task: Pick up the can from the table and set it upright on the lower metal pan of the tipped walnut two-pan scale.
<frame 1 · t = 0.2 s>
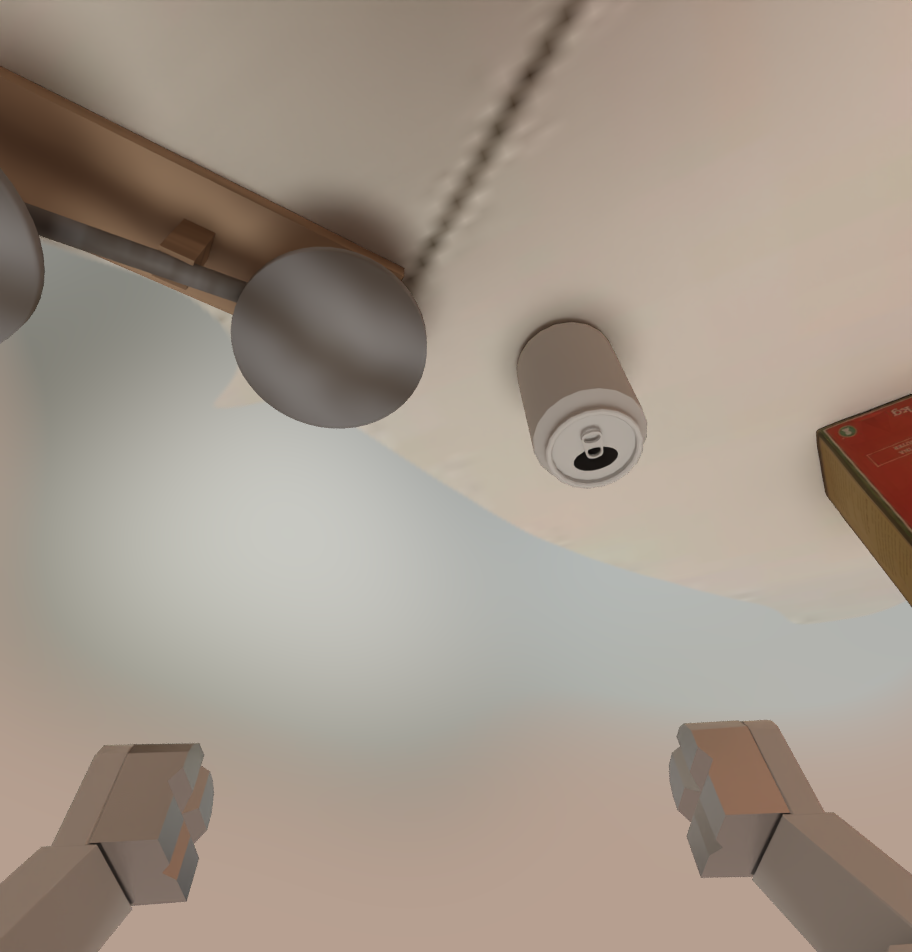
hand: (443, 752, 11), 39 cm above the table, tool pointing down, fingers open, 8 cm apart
scale: (202, 232, 43), on the table
food packaging: (897, 436, 56), on the table
can: (562, 360, 50), on the table
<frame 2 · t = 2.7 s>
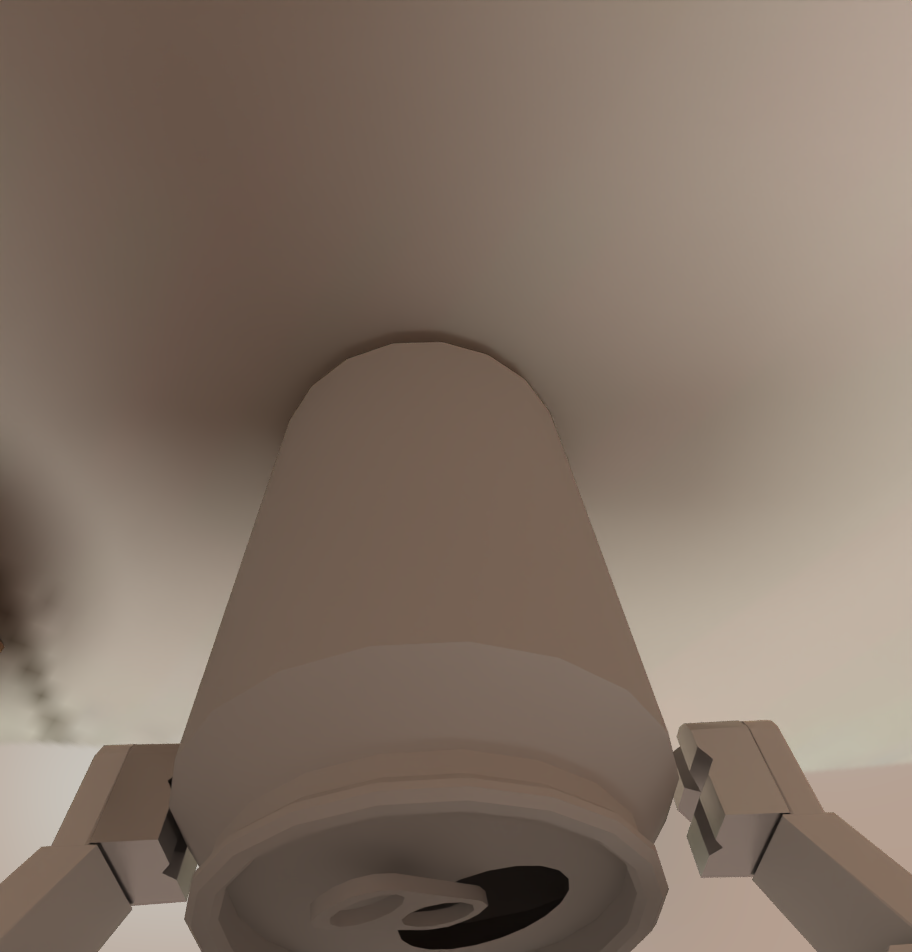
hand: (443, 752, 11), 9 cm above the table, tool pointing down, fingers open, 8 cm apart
can: (422, 451, 18), on the table
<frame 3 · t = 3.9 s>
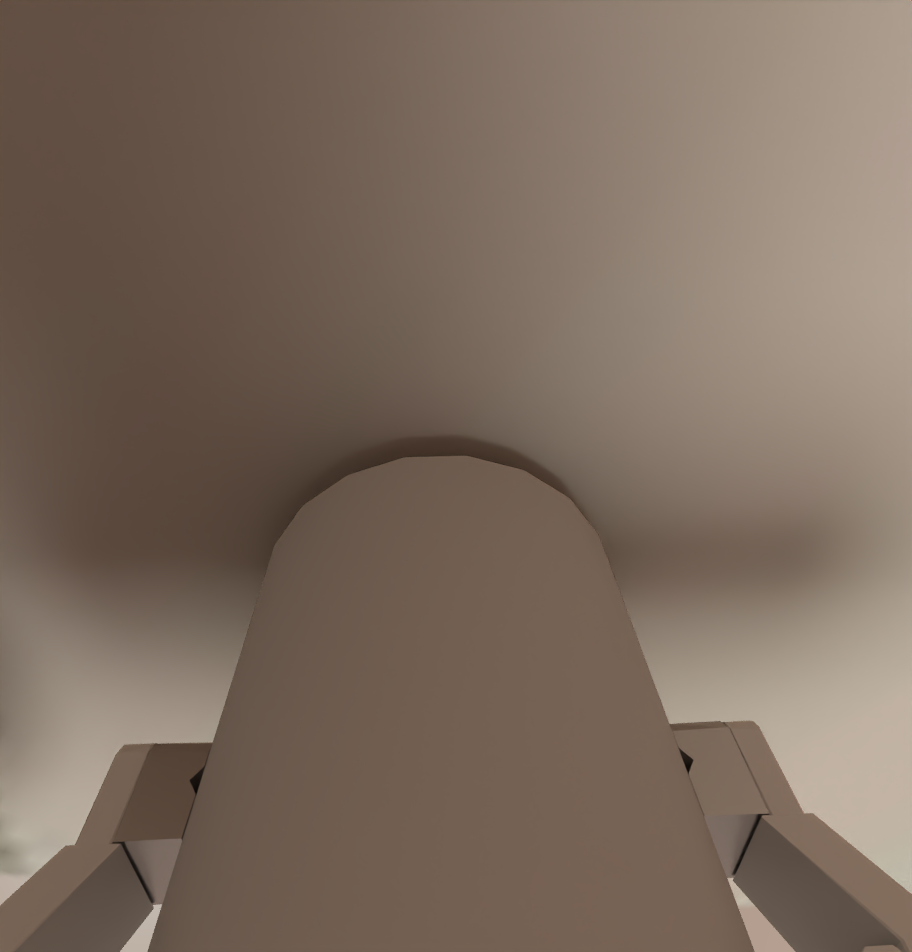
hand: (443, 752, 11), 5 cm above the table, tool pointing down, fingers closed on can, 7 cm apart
can: (438, 568, 15), on the table, touching gripper
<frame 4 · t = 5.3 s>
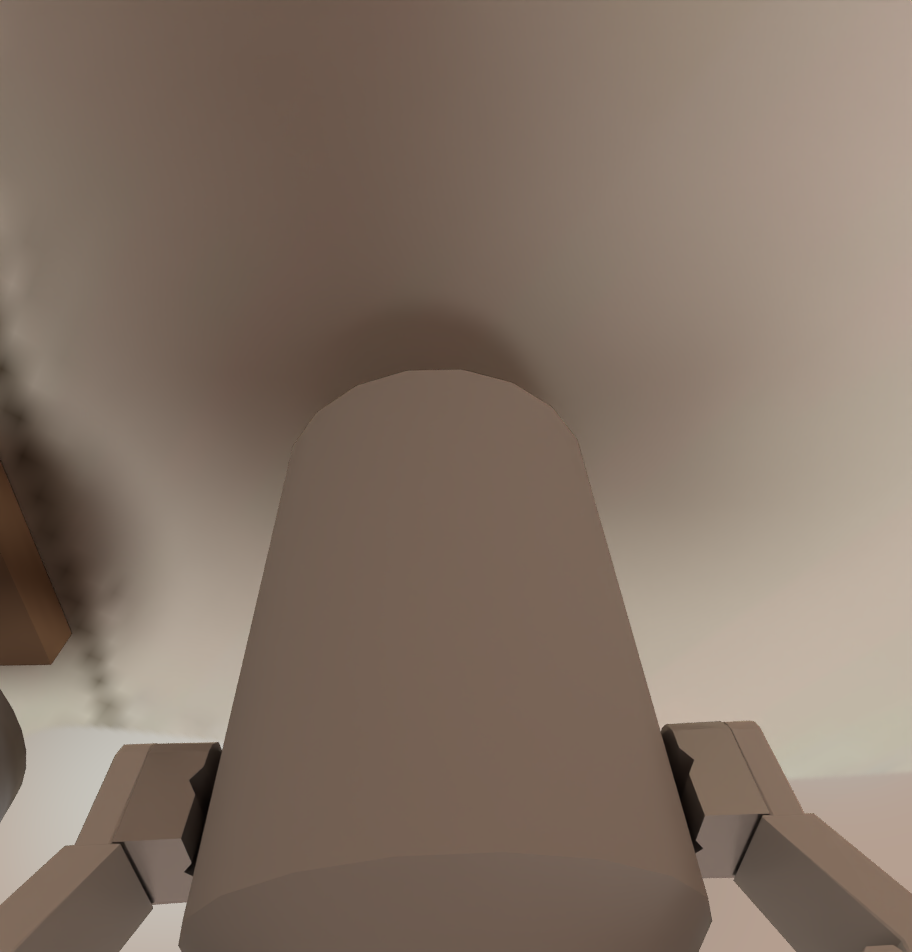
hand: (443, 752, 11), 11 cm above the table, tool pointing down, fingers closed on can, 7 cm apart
can: (436, 466, 17), point 3 cm above the table, touching gripper
when the fingers open (21 cm above the table, at t = 8.0 s): can drops 2 cm, resting on scale.
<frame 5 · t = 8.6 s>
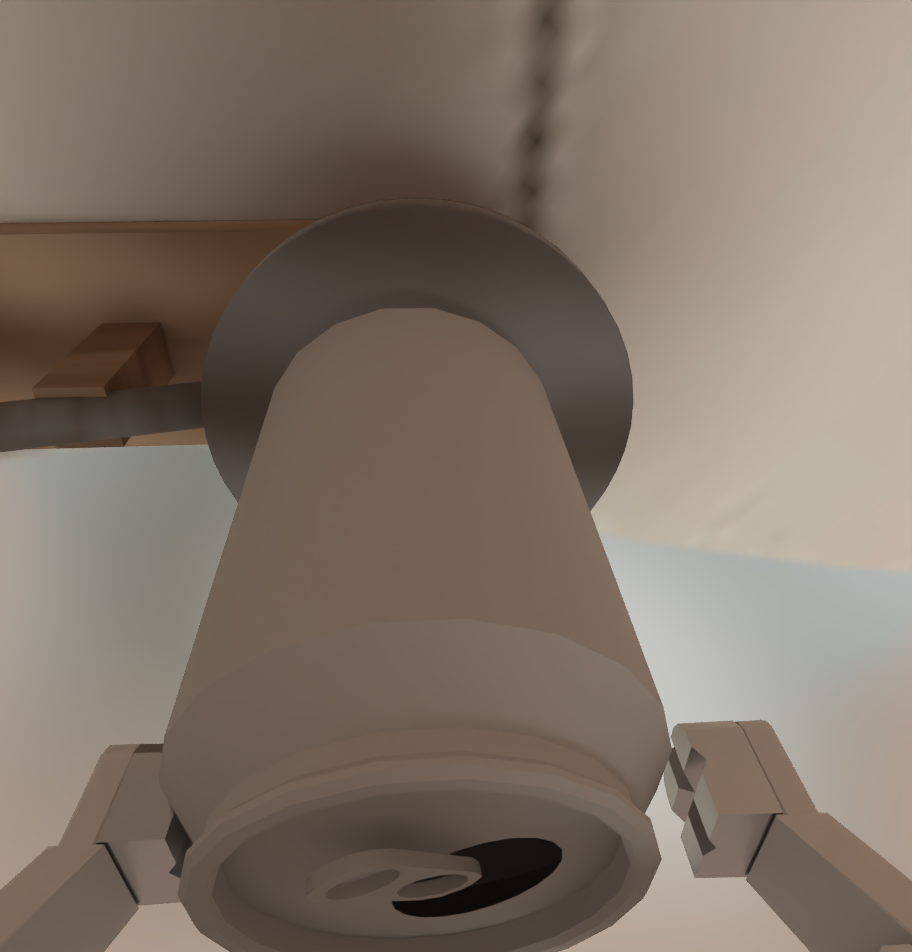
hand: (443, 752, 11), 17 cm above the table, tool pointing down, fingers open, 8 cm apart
scale: (153, 333, 24), on the table
can: (411, 419, 18), point 8 cm above the table, touching gripper, scale
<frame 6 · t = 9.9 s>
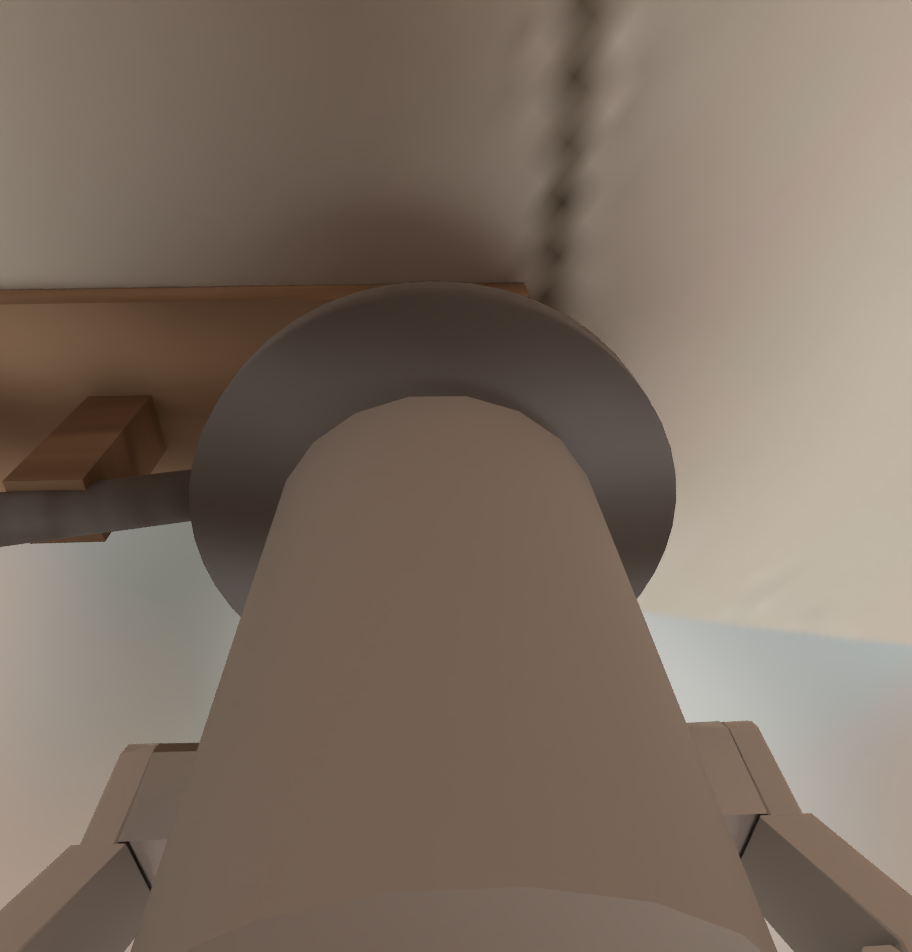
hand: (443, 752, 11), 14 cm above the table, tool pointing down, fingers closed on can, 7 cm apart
scale: (145, 403, 22), on the table
can: (437, 512, 16), point 8 cm above the table, touching gripper, scale
when the fingers open (14 cm above the table, at t = 10.1 s): can stays where it is, resting on scale.
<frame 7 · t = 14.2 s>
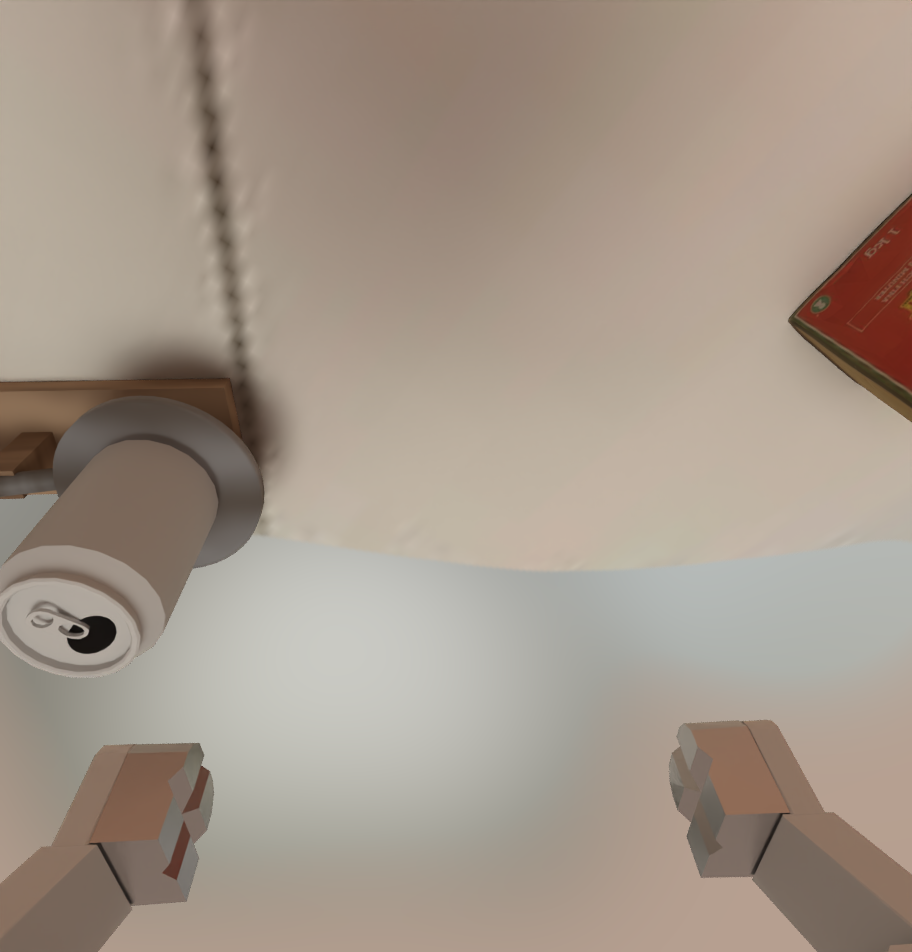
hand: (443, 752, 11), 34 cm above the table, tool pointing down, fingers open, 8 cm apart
scale: (52, 434, 45), on the table
food packaging: (906, 276, 42), on the table
can: (159, 484, 39), point 8 cm above the table, touching scale
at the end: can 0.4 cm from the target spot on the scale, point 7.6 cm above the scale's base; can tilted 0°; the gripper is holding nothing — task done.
